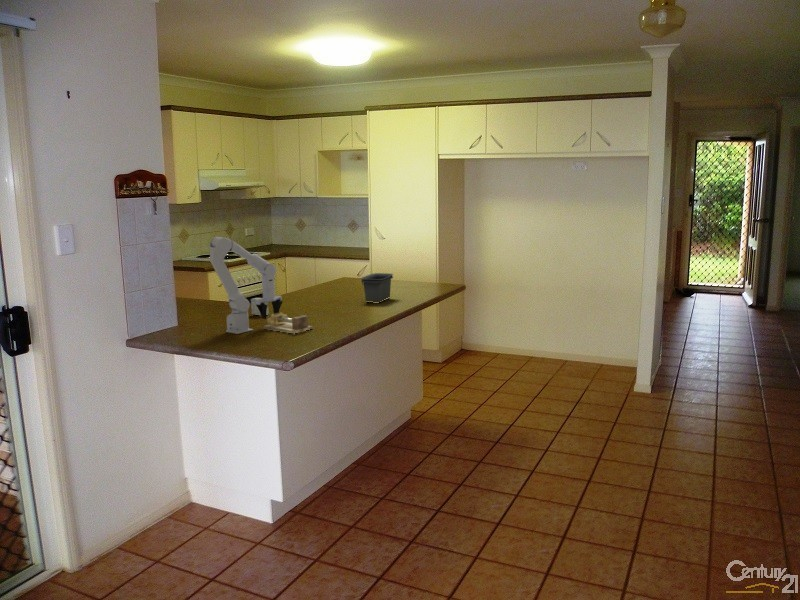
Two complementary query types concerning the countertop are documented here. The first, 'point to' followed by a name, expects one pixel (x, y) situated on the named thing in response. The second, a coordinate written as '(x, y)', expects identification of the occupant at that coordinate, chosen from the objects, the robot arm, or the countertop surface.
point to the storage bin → (377, 286)
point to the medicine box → (254, 307)
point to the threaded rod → (285, 319)
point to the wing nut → (276, 318)
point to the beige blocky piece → (291, 325)
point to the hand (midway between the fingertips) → (270, 317)
